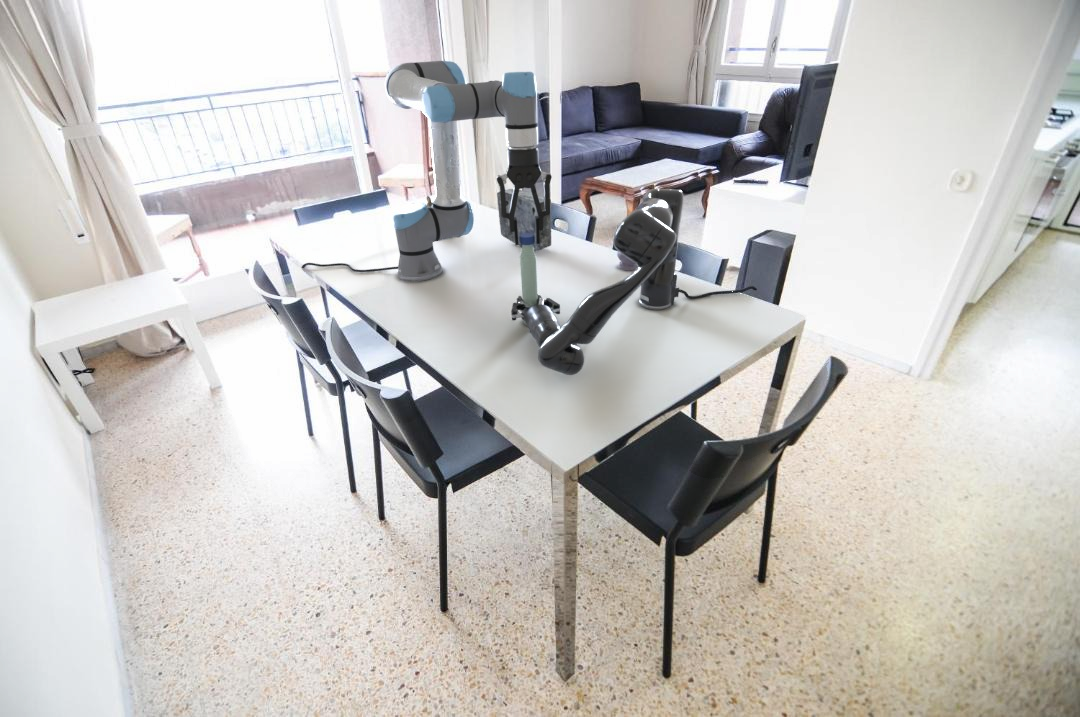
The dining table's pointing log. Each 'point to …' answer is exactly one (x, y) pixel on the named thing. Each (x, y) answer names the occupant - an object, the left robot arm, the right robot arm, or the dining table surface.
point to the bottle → (528, 275)
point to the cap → (527, 239)
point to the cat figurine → (626, 262)
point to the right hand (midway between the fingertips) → (527, 298)
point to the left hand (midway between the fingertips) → (527, 242)
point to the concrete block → (525, 218)
